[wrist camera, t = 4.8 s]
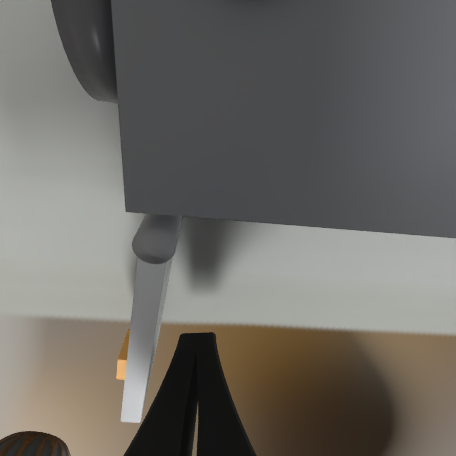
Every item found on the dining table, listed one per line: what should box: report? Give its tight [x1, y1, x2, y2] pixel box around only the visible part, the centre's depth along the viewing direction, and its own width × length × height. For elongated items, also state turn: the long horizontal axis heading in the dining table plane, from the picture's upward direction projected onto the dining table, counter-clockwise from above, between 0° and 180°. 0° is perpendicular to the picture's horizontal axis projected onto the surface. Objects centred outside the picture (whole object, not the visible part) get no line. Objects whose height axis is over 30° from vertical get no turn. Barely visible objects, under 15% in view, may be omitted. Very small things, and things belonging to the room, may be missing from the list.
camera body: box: [51, 0, 456, 238], centre depth 6 cm, size 11×6×5 cm, turn 83°
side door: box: [116, 214, 183, 423], centre depth 9 cm, size 8×1×4 cm, turn 166°
